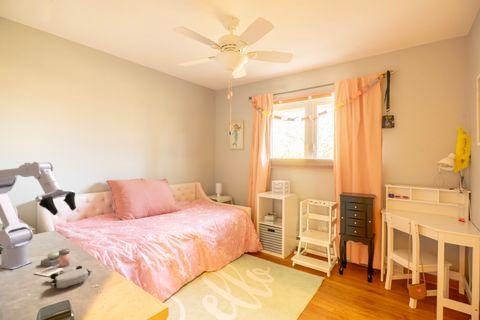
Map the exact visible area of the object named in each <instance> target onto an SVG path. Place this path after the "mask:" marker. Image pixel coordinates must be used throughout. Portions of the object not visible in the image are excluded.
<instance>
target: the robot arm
mask: <svg viewBox="0 0 480 320" xmlns="http://www.w3.org/2000/svg"><path fill="white" fill-rule="evenodd" d="M53 168H54V167H53V164H52V163H51V162H50V161H48V162H47V161H33V162H25V163H24V164H21V165H19V166H18V167H17V168H6V169H0V221H1V222H2V225H3V227H4V228H3V229H2V230H1V231H0V245H1V247H2V249H1V254H0V256H1V257H0V259H1V261H0V262H1V265H0V268H2V269H8V270H15V269H18V268H22V267H23V266H26V265H29V264H31V263H33V262H34V260H29V243H30V242H31V241H32V239H33V238H34V232H33V230H32V229H31V228H30V227H29V225H28V224H26V223H23V222H20V219H19V217H18V215H17V213H16V210H15V208H14V206H13V204H12V202H11V200H10V197H9V195H8V193H9V192H10V191H12V189H13V188H14V186H15V185H16V182H17V179H18V176H21V177H22V178H23V177H24V178H28V177H29V178H30V177H34V179H36V180H37V181H38V183H39V185H40V186H41V189H42V191H43V192H44V193H43V194H40V195H36V197H35V198H34V199H35V201H36V203H38V205H39V206H40V207H42V208H45V209H46V210H47V211H49V213H51V214H52V215H53V216H56V215H57V214H58V213H59V210H58V208H57V206H56V205H55V202H54V199H58V198H62V197H64V199H63V202H65V203H66V204H67V205H68V207H69V208H70V210H71V211H72V212H73V211H74V210H76V208H77V207H76V200H75V199H76V198H75V197H76V193H75V191H74V189H63V188H62V187H61V185H60V183H59V181H58V180H57V178H56V176H55V175H54V173H53V170H54V169H53Z"/></svg>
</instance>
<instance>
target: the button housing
mask: <svg viewBox="0 0 480 320" xmlns="http://www.w3.org/2000/svg"><path fill="white" fill-rule="evenodd" d="M40 265H41V266H46V267H51V266H52V267H56V266H57V265H59V258H57V259H55V260H51V259H50V258H48V257H46V258H44V259H41V260H40Z"/></svg>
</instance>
